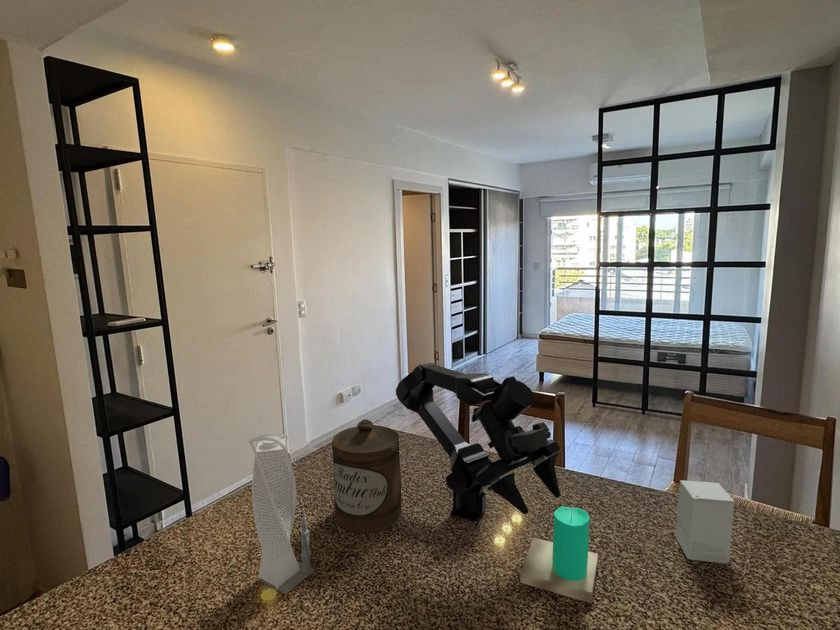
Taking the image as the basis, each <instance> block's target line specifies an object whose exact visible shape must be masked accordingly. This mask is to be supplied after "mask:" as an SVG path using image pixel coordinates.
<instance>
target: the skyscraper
mask: <svg viewBox="0 0 840 630" xmlns="http://www.w3.org/2000/svg"><path fill="white" fill-rule="evenodd" d="M253 442H256V445H254V443H253ZM287 442H288V435H287V434H285V433H270V434H269V433H268V434H261V435H259V436H257V437H254V438H251V439H249V441H248V443H249V445H250V447H251V449H252V451H253V454H254V458H253V467H252V477H251V478H252V480H251V481H252V482H251V499H252V500H251V502H252V511H253V516H254V517H253V518H254V524H255V528H256V533H257V536H258V539H259V542H260V547H261V550H262V551H261V557H260V563H259V569H258V577H257V581H260V582H261V583H263V584H265V585H266V586H268V587H270V588H272V589H274V590H276V591H278V593H279V592H280V593H281V594H283V595H287V594H288V593H290V591H292V590H293V589H294V588H296V587H297V586H298V585H299V584H300V583H302V582H303V581H304V580H305V579H306V578H308V577H309V576H310V575H311V574H312V573H313V572H315V569H314V568H313V567H312V566H311V564H312V560H311V559H312V553H311V551H310V531H309V529H308V528H307V516H306V513H305V511H306V510H305V508H302V517H301V521H302V522H301V525H302V530H301V531H300V539H301V541H300V542H301V553H300V556H301V562H300V561H299V560H297V558H296V555H295V553H294V551H293V547H292V545H291V538H290V537H291V534H292V531H293V530H292V529H293V525H294V523H295V521H294V520H295V516H296V508H297V483H296V478H295V472H294V468H293V464H292V462H291V459H290V456H289V453H288V452H289V451H288V449H287V446H286V445H287Z"/></svg>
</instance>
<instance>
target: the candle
mask: <svg viewBox="0 0 840 630" xmlns="http://www.w3.org/2000/svg"><path fill="white" fill-rule="evenodd" d="M589 538H590V515H589V513H588V512H587V511H586V510H584V509H582V508H580V507H567V506H564V505H563V506H562V505H561V506H560V507H559V508H557V509H556V510H555V511H554V513H553V533H552V542H553V557H552V568H553V570H554V572H555V573H556V574H557V575H559V576H560V577H561V578H564V579H567V580H571V581H575V580H581V579H583V578H585V577H586V574H587V564H588V551H589V543H590V541H589V540H590V539H589Z"/></svg>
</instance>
